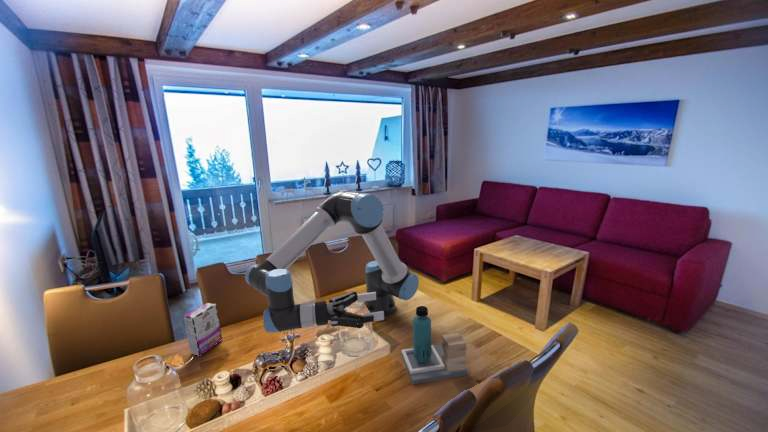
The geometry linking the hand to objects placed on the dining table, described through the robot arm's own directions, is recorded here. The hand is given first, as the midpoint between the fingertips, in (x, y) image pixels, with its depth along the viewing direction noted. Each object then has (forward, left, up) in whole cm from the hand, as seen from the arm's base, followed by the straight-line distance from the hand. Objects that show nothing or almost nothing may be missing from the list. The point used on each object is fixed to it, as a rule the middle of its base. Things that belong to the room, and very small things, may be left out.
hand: (379, 304), depth 110 cm
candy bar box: (-27, -65, -24) cm, 74 cm away
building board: (+3, +18, -24) cm, 30 cm away
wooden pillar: (+7, +24, -22) cm, 33 cm away
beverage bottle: (+2, +14, -22) cm, 27 cm away
